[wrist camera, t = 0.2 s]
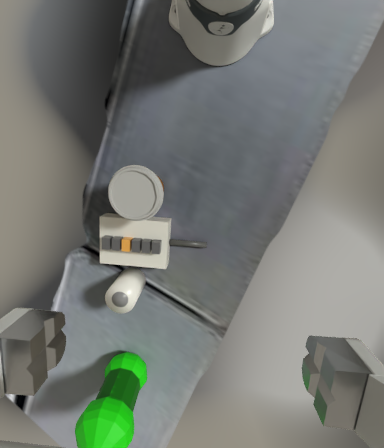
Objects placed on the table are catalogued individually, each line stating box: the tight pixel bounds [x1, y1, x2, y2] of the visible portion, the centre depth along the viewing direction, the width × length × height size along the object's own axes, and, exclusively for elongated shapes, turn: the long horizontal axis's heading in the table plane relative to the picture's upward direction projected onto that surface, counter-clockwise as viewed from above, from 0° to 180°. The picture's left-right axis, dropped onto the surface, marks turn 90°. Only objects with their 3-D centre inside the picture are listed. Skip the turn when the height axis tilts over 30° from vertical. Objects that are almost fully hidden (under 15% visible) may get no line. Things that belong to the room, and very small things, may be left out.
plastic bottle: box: [75, 352, 147, 448], centre depth 52 cm, size 10×10×25 cm
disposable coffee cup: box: [108, 165, 164, 221], centre depth 49 cm, size 10×10×12 cm
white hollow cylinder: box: [105, 267, 146, 313], centre depth 55 cm, size 6×6×9 cm
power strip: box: [100, 213, 207, 269], centre depth 54 cm, size 10×22×6 cm, turn 86°
